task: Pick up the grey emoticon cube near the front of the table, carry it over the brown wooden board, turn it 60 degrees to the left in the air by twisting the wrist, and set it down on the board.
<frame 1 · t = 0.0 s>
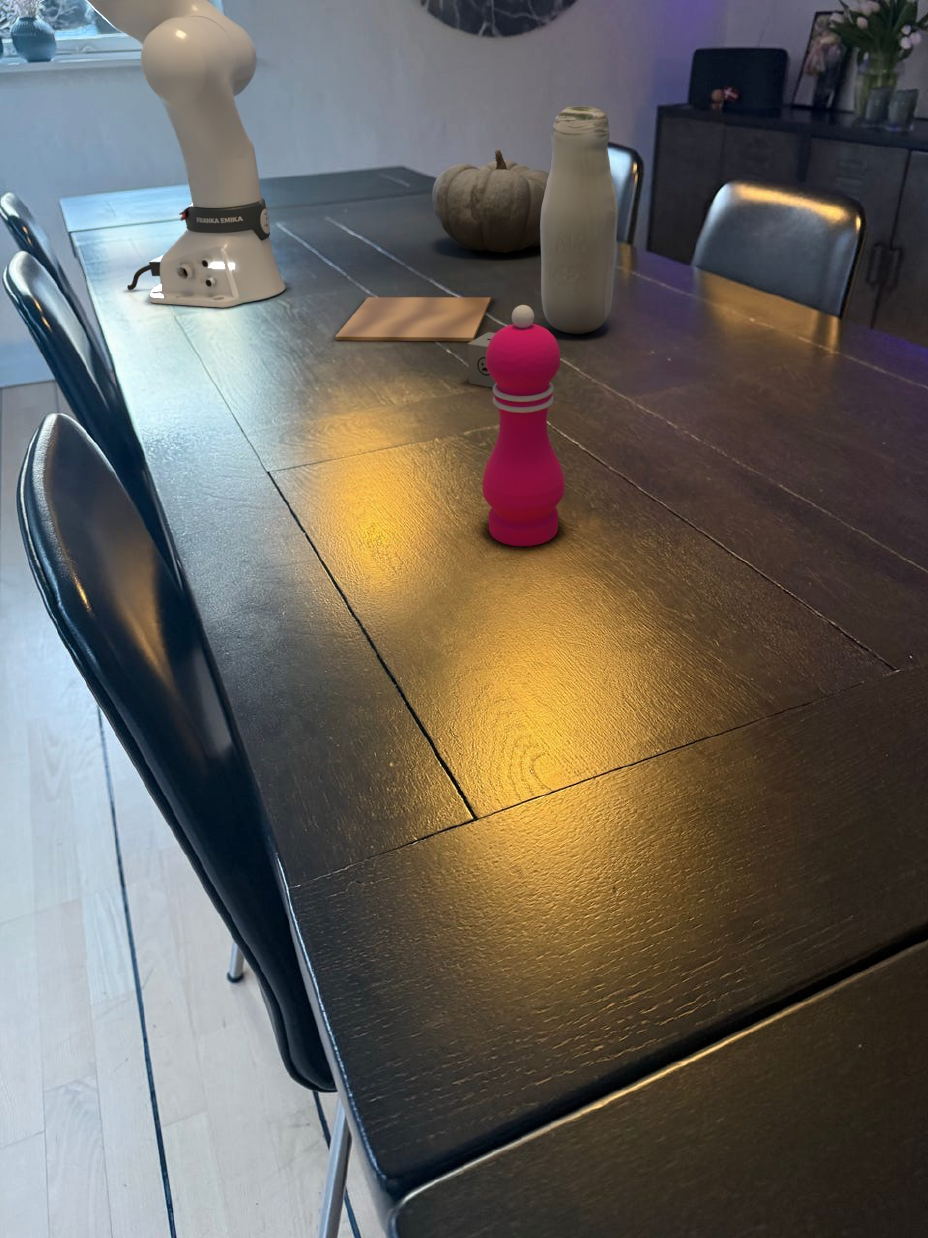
pepper mill: (523, 531, 81), on the table
brown wooden board: (417, 319, 135), on the table
grey emoticon cube: (496, 381, 113), on the table
gourd: (499, 247, 172), on the table
glass bottle: (575, 332, 128), on the table
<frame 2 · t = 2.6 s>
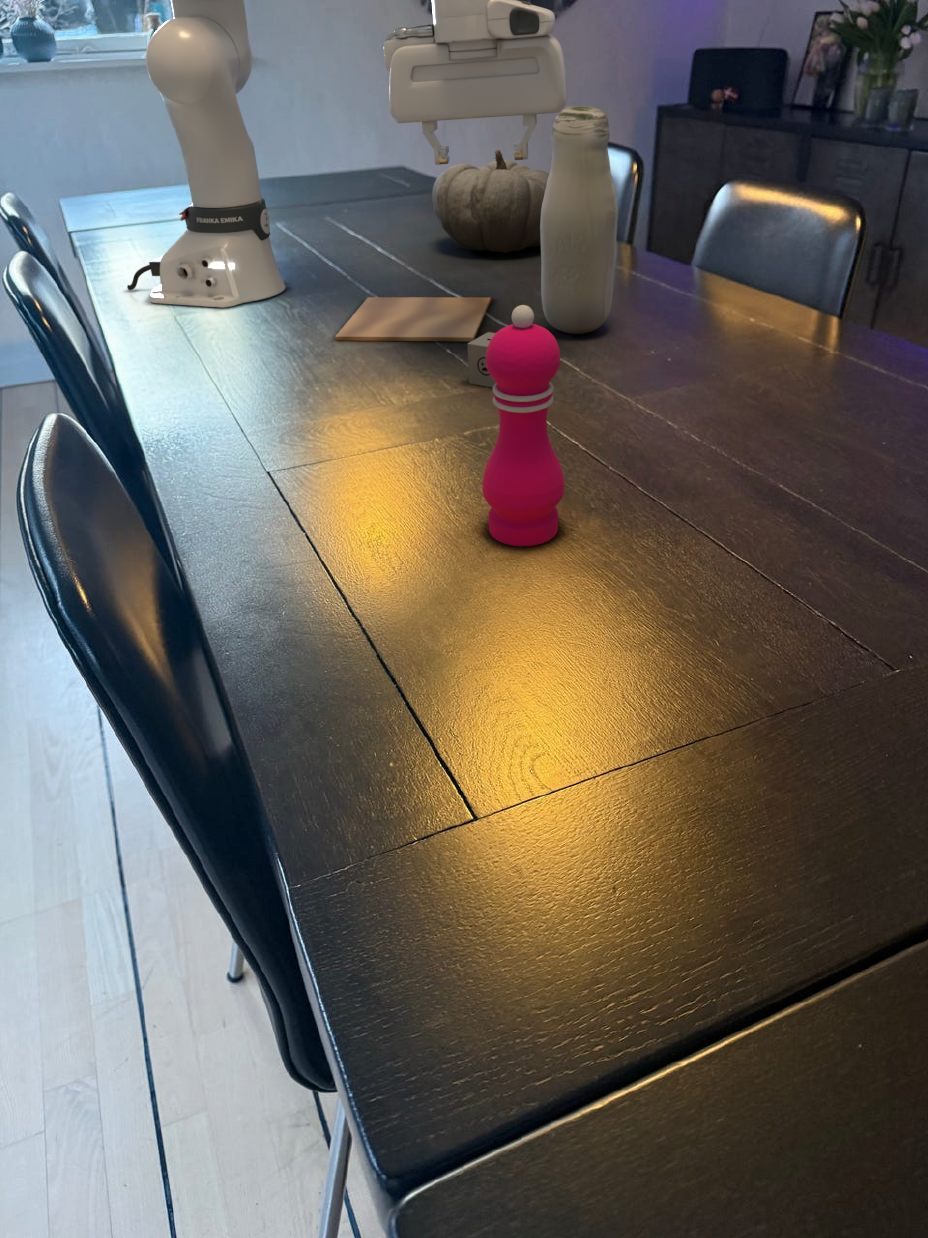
hand: (481, 161, 105), 24 cm above the table, tool pointing down, fingers open, 8 cm apart
nothing on the table moved.
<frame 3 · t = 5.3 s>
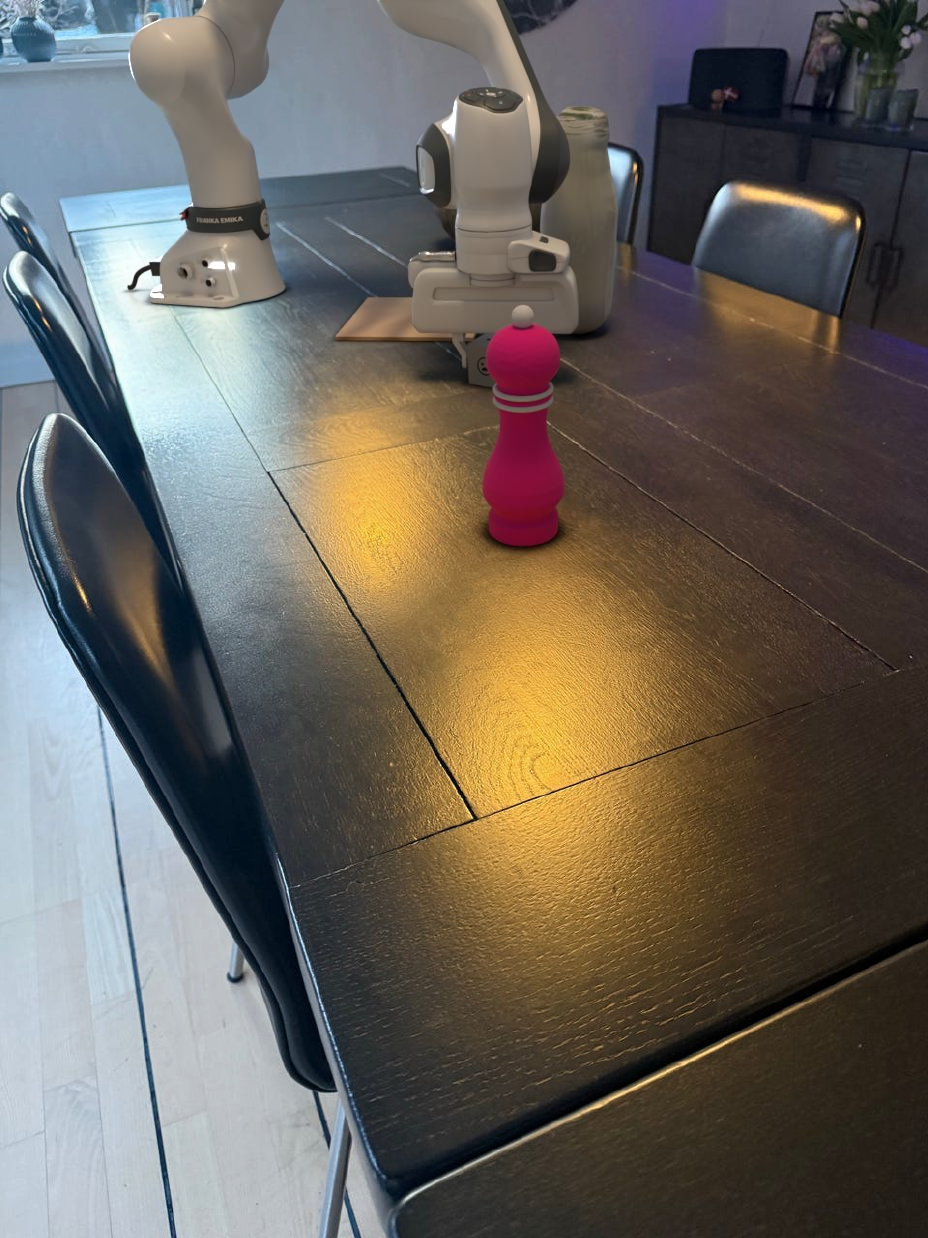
hand: (496, 367, 112), 2 cm above the table, tool pointing down, fingers closed on grey emoticon cube, 5 cm apart
grey emoticon cube: (496, 381, 113), on the table, touching gripper
everything else where it was.
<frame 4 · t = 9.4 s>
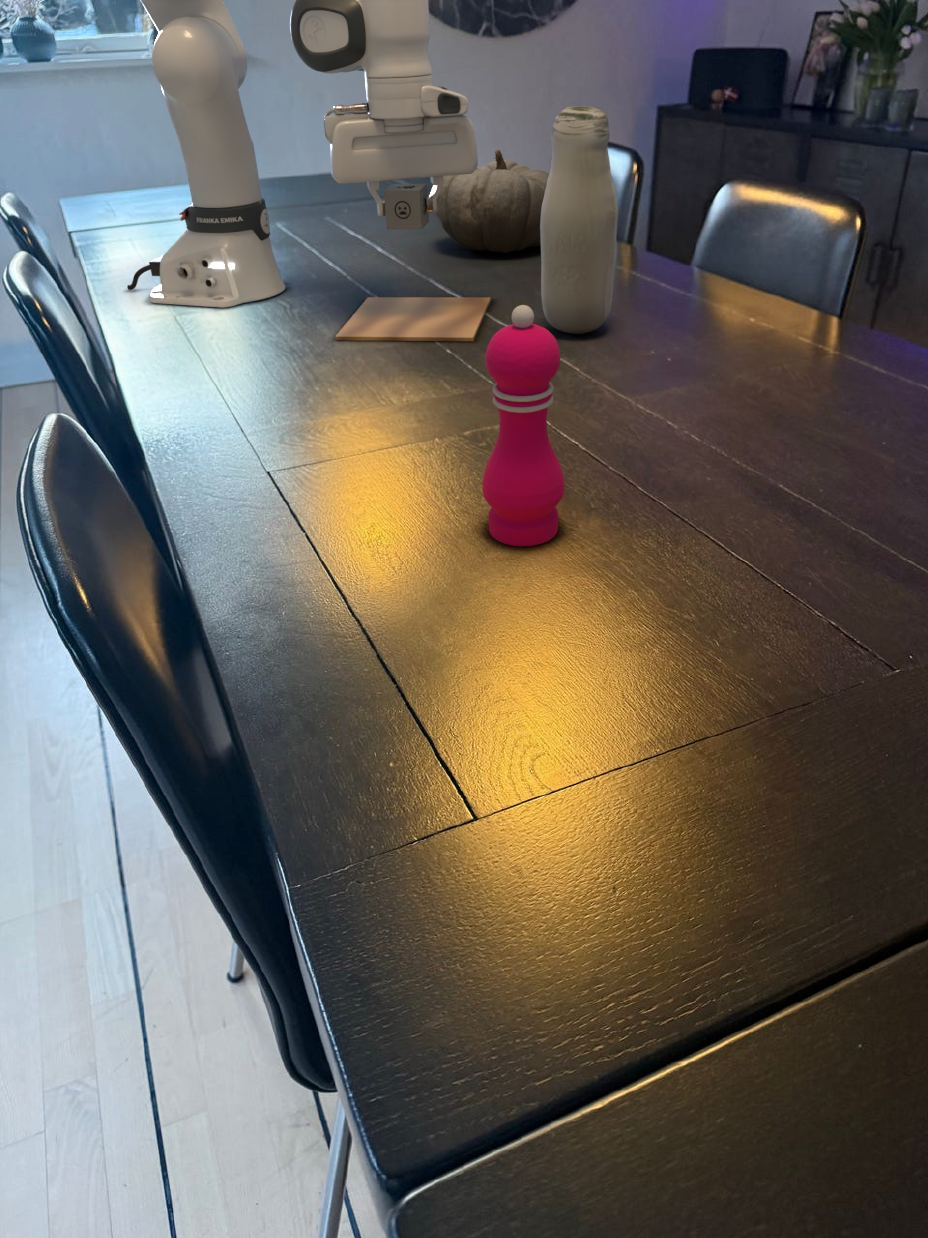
hand: (407, 213, 127), 15 cm above the table, tool pointing down, fingers closed on grey emoticon cube, 5 cm apart
grey emoticon cube: (408, 226, 127), point 13 cm above the table, touching gripper
everything else where it was.
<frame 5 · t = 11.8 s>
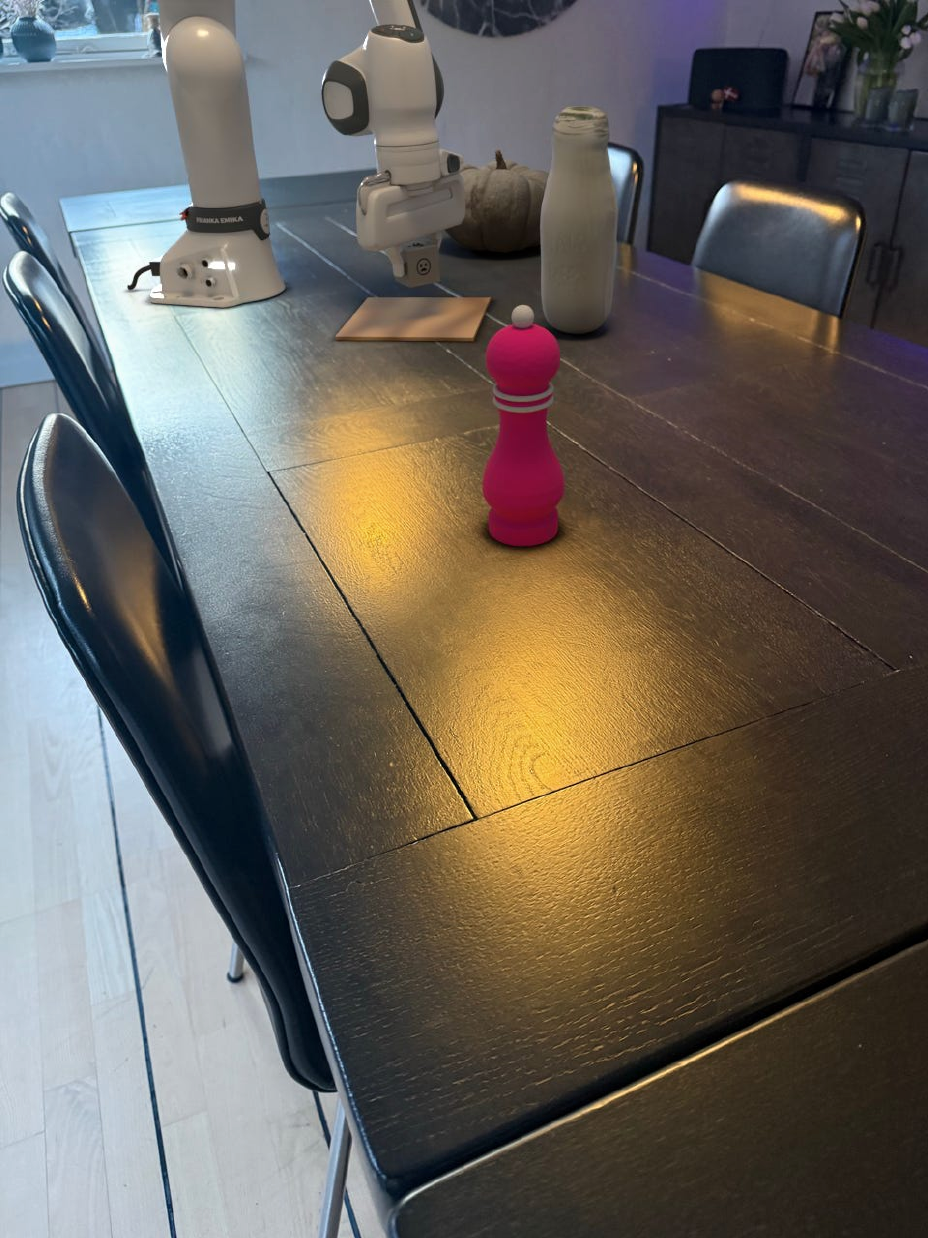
hand: (416, 269, 131), 7 cm above the table, tool pointing down, fingers closed on grey emoticon cube, 5 cm apart
grey emoticon cube: (417, 282, 132), point 5 cm above the table, touching gripper
everything else where it was.
when the fingers open (2 cm above the table, at t = 13.5 s): grey emoticon cube stays where it is, resting on brown wooden board.
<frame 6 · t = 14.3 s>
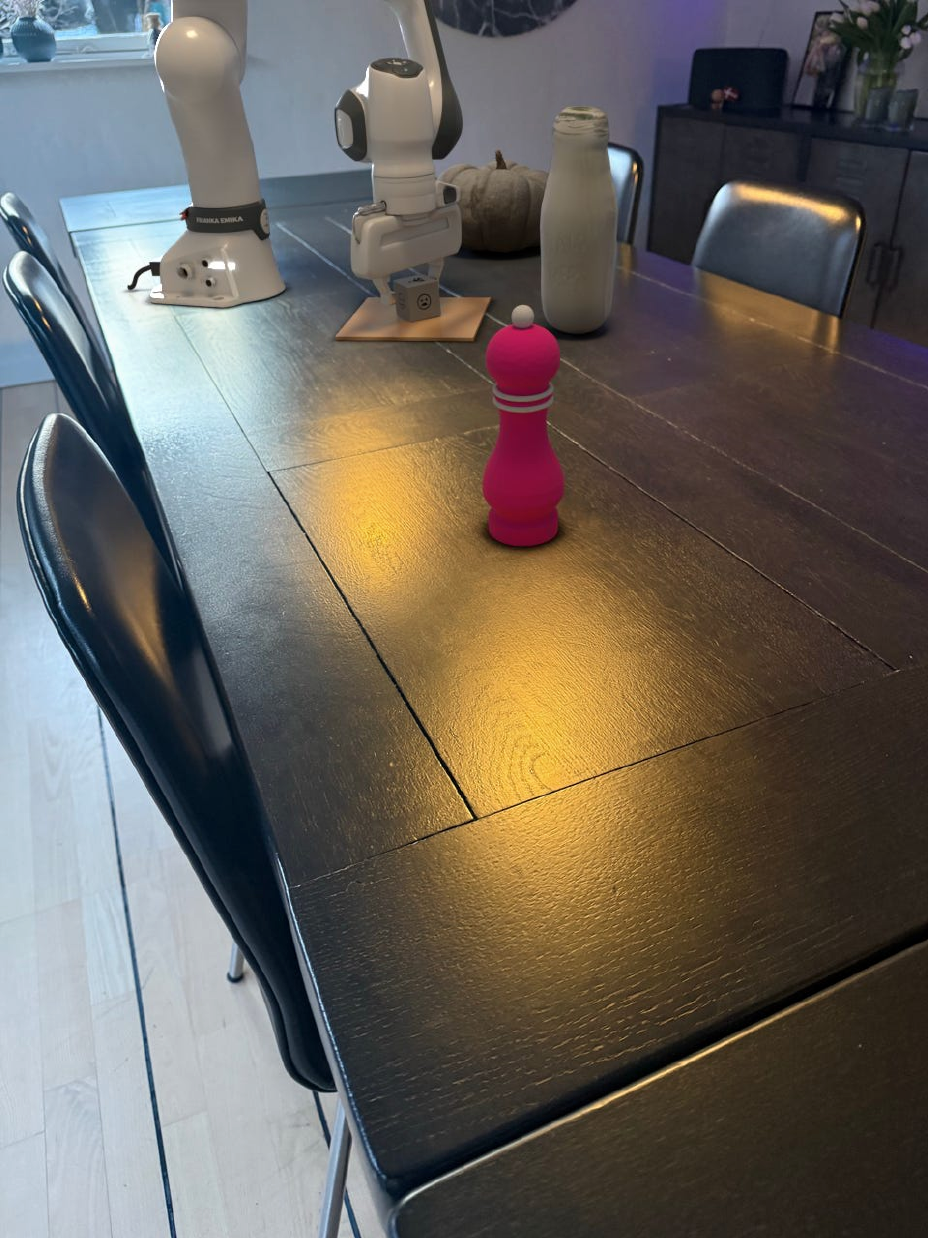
hand: (410, 297, 133), 3 cm above the table, tool pointing down, fingers open, 8 cm apart
grey emoticon cube: (418, 315, 135), point 1 cm above the table, touching brown wooden board, gripper
everything else where it was.
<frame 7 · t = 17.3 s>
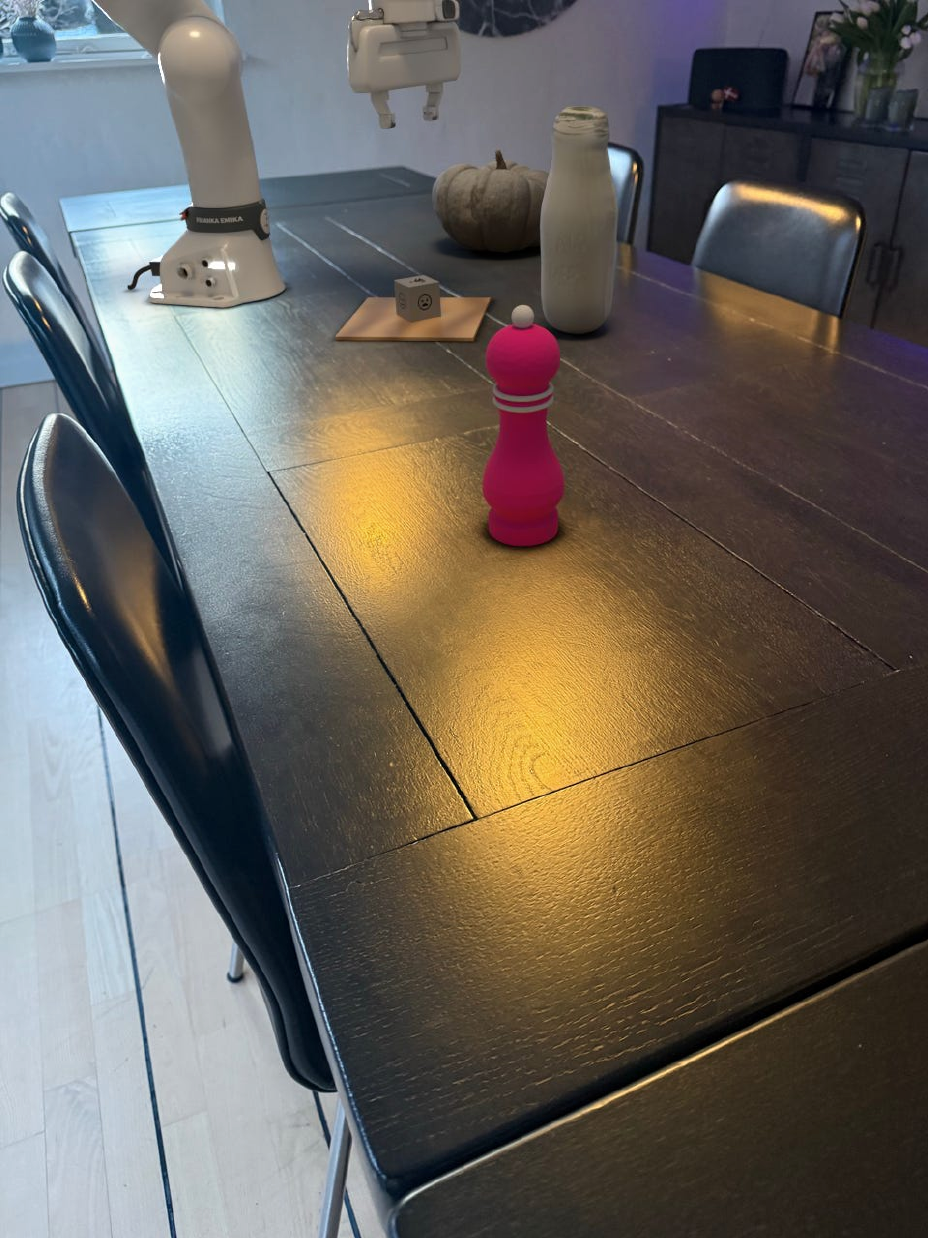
hand: (410, 123, 128), 25 cm above the table, tool pointing down, fingers open, 8 cm apart
grey emoticon cube: (418, 316, 135), resting on brown wooden board
everything else where it was.
at the end: grey emoticon cube inside the target area on the brown wooden board (0.4 cm from its centre), point 0.4 cm above the brown wooden board's base; grey emoticon cube tilted 0°; the gripper is holding nothing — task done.
